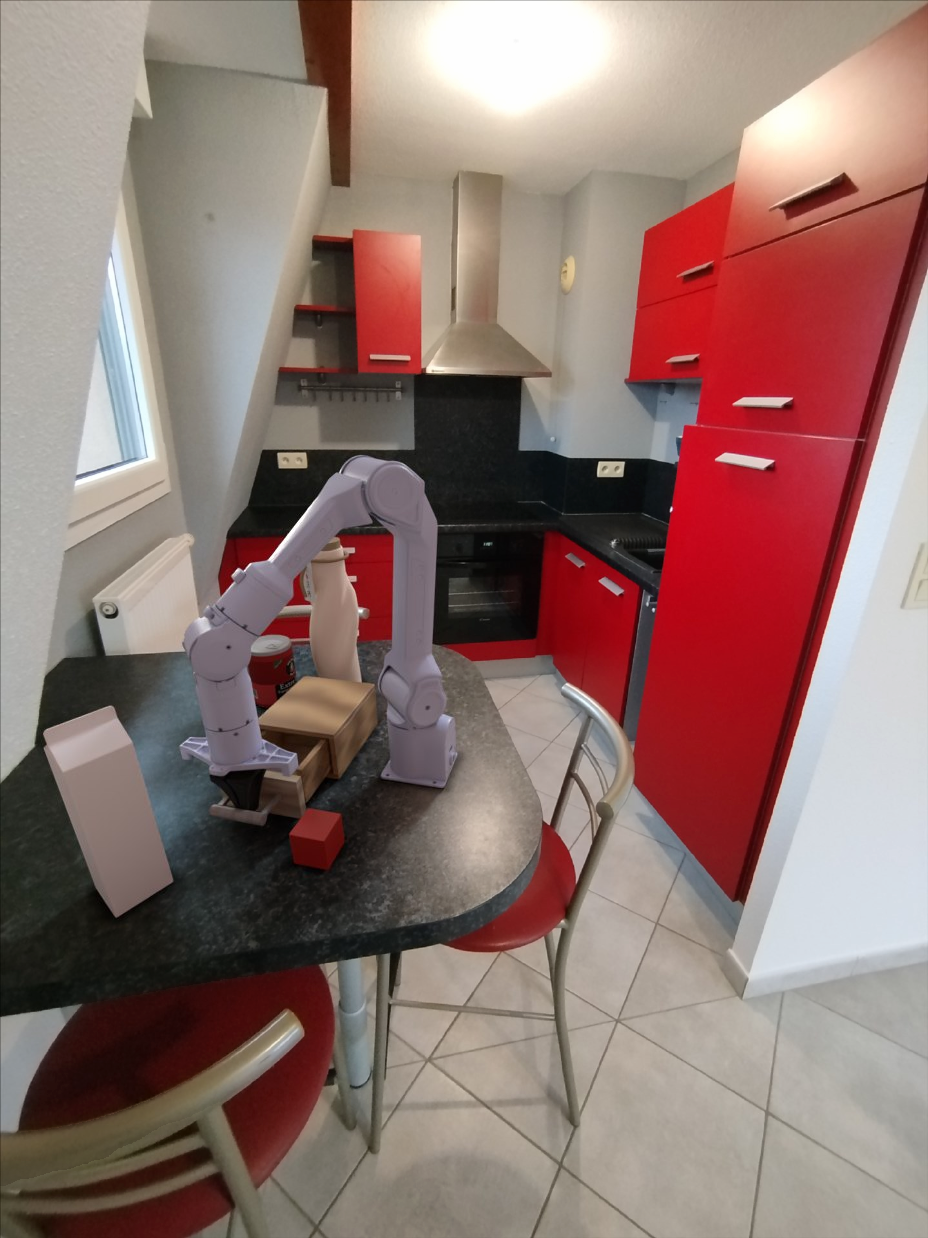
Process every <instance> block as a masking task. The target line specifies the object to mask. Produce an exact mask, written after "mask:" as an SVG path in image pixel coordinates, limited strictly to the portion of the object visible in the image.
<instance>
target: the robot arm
mask: <svg viewBox="0 0 928 1238" xmlns="http://www.w3.org/2000/svg"><path fill="white" fill-rule="evenodd" d="M425 484H426V483H425V481H424V479H422V478H421V477H420V476H419V475H418V474H417V473H416V472H415V471H413V470H412V469H411V468H410V467H409V466H407V465H406V464H404V463H403V462H400V461H396V460H384V459H380V458H379V459H378V458H374V457H372V456H369V455H365V454H359V455H355V456H352V457H350V458H349V459H347V460H346V461H345V462H344V463H343V464H342V466H341V468H340V470H339V472H335V473H334V474H333V475H332V476H331V477H329V479H328V480H327V481H326V483H325V484H324V486H323V487H322V489H321V491H320V492H319V494H318V495H317V497H316V498H315V499H314V500H313V502H312V503H311V504H310V506H309V507H308V508H307V510H306V511H305V512H304V513H303V515H301V517H300V518H299V520H298V521H297V522H296V523H295V525H294V526H293V527H292V529H291V530H290V531H289V533H287V535H286V536H285V538H284V539H283V540H282V541H281V543H280V544H279V545H278V547H277V548H276V549H275V551H274V552H273V553H272V555H271V556H270V557H269V558H268V559H267V560H262V561H255V562H250V563H249V564H248V565H247V566H246V567H245V569H244V570H243V569H241V568H240V567H237V569H236V570H235V571H234V572H233V573H232V574H231V575H230V577H231V578H232V580H233V582H232V583H231V585H230V586H229V587H228V588H227V589H226V590H225V592H224V593H223V594H222V595H221V596H220V597H219V598H218V600H217V601H216V602H215V603H213V605H212V607H211V606H210V605H207V606H206V607H205V608H204V609H203V611H202V615H203V617H198V618H196V619H194V620H193V621H192V622H190V624H189V625H188V626H187V628H186V630H185V631H184V634H183V636H184V638H183V641H181V645H182V647H183V651H184V652H185V653H186V655H187V658H188V662H189V664H190V666H191V667H192V669H193V672H192V673H193V674H192V677H193V681H194V684H195V696H196V699H197V703H198V709H199V712H200V713H199V714H200V716H201V721H202V726H203V730H204V734H205V737H195V736H194V737H193V736H190V737H188V738H187V739H186V740H184V742H183V743H181V744H180V745H179V746H178V747H179V751H180V756H181V759H182V760H185V761H190V760H192V759H193V758H196V759H197V760H200V761H202V762H203V763H205V764H206V765H208V766H209V767H208V773H209V775H208V776H209V780H210V782H211V783H212V784H214V785H216V786H217V788H221V789H222V790H223V791H224V792H225V794H226V795H227V796H228V797H229V799H230V800H231V802H232V803H233V805H234V806H235V807H234V806H233V807H234V808H238V809H244V810H249V811H255V812H257V811H256V810H257V809H258V807H259V798H260V791H261V785H262V781H263V778H264V775H265V772H266V770H267V769H269V770H275V771H281V772H282V775H283V776H287V777H290V776H291V775H292V774H293V773H294V772H295V770H296V769H297V768H298V767H299V766H298V759H297V753H292V752H288V751H286V750H283V749H281V748H279V747H277V746H275V745H273V744H271V743H270V742H268V741H266V740H264V739H262V738H261V732H260V727H259V721H258V718H259V716H258V711H257V706H256V705H257V704H256V702H255V700H254V694H253V689H252V683H251V678H250V676H249V671H248V664H249V662H250V659H251V646H252V644H253V643H254V642H255V641H256V640H257V639H258V638H259V637H261V635H262V634H263V633H264V632H265V631H266V630H267V629H268V627H269V626H270V625H271V623H273V622H274V620H275V619H276V618H277V617H278V615H279V614H280V613H281V612H282V611H283V609H284V608H285V607H286V606H287V605H288V604H289V603H290V601H291V600H292V599H293V598H294V579H296V578H297V576H298V575H299V574H301V571H302V570H303V569H304V568H305V567H306V566H307V565H308V564H309V563H310V561H311V560H312V559H313V558H314V557H315V556H316V555H317V554H318V553H319V552H320V551H321V550H322V549H323V548H324V547H325V546H326V545H327V544H328V543H329V541H330V540H331V539H332V538H333V537H336V535H338V533H339V532H340V531H342V530H343V529H348V528H354V527H360V526H366V525H371V524H373V520H372V517H374V518H375V520H377V522H379V523H380V524H381V525H382V526H383V527H384V528H385V529H386V530H388V532H389V533H391V534H392V536H393V566H392V567H393V568H392V569H393V570H392V576H393V577H392V620H391V621H392V622H391V624H392V626H391V627H392V629H391V630H392V631H391V650H389V651H388V652H387V653H386V654H385V655H384V658H383V659H384V662H383V668H382V669H381V672H380V674H379V676H378V679H377V689H378V692H379V694H380V695H381V696H382V697H383V698H384V699H385V700H386V702H387V703H386V704H387V710H386V719H387V720H386V722H387V733H388V735H387V736H388V745H389V746H388V748H389V749H388V750H389V760H388V762H387V763H386V765H385V767H384V768H383V770H382V771H381V773H380V778H381V779H382V780H388V781H394V782H399V783H400V782H401V783H407V784H412V785H420V786H425V787H433V788H437V789H443V788H445V787H446V785H447V782H448V780H449V777H450V775H451V773H452V770H453V768H454V765H455V762H456V761H457V758H458V752H457V725H456V719H455V717H454V716H450V715H447V714H445V713H444V712H445V710H446V707H447V703H448V702H447V700H448V699H447V694H446V692H445V690H444V687H443V682H442V681H443V675H442V672H441V670H440V668H439V666H438V664H437V662H436V659H435V658H434V655H433V639H434V638H433V634H434V615H435V589H436V572H437V571H436V569H437V549H438V547H437V545H438V520H437V517H436V516H435V513H434V511H433V508H432V506H431V504H430V502H429V500H428V497H427V495H426V493H425ZM371 516H372V517H371ZM221 789H220V790H221Z"/></svg>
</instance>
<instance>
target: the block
mask: <svg viewBox="0 0 928 1238" xmlns="http://www.w3.org/2000/svg"><path fill="white" fill-rule="evenodd" d="M288 836H289V837H288V838H289V842H290V847H291V854H292V859H293V864H296V865H301V866H306V867H310V868H314V869H321V870H325V871H329V870H330V868H331V866H332V864H333V863H334V862H335V859H336V858H337V856H338V854H339V852H340V851H341V849H342V848H343V846H344V844H345V833H344V825H343V817H342V813H338V812H332V811H328V810H327V811H326V810H321V809H315V808H310V807H308V808H306V812H305V813H304V815H303V816H302V817H301V819H300V818H299V820H298V822H297V823H296V824H295V826H294V827H293V828H292V830H291V831H290V832H289V834H288Z"/></svg>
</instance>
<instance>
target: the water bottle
mask: <svg viewBox="0 0 928 1238" xmlns="http://www.w3.org/2000/svg"><path fill="white" fill-rule="evenodd" d="M349 556H350V553H349V552H348V551H346V550H344V547H343V546H342V545H341V539H340V537H338V536H337V537H336V536H334V537H333V538H332V539H331V540H330V541H329V543H328V544H327V545H326V546H325V547H324V548H323V549H322V550H321V551H320V552H319V553H318V554H317V555H316V556H315V557H314V558H313V559H312V560H311V561H310V563H309V564H308V565H307V566H306V567H305V568H304V569H303V570H302V571H301V572H300V576H299V585H300V590H301V594H302V595H303V598H304V601H307V602H309V603H310V605H311V612H310V618H309V643H310V645H309V646H310V653H311V656H312V660H313V661H312V662H313V663H314V667H315V670H316V674H317V676H318V677H319V678H327V679H336V680H345V681H353V682H362V681H363V680H362V674H361V673H362V672H361V668H360V661H359V654H358V648H357V642H358V641H357V640H358V633H359V623H360V613H359V603H358V598H357V594H356V591H355V588H354V587H353V585H352V583H351V580H350V579H349V576H348V574H347V571H346V563H345V560H346V559H348V558H349ZM362 683H363V682H362Z"/></svg>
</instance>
